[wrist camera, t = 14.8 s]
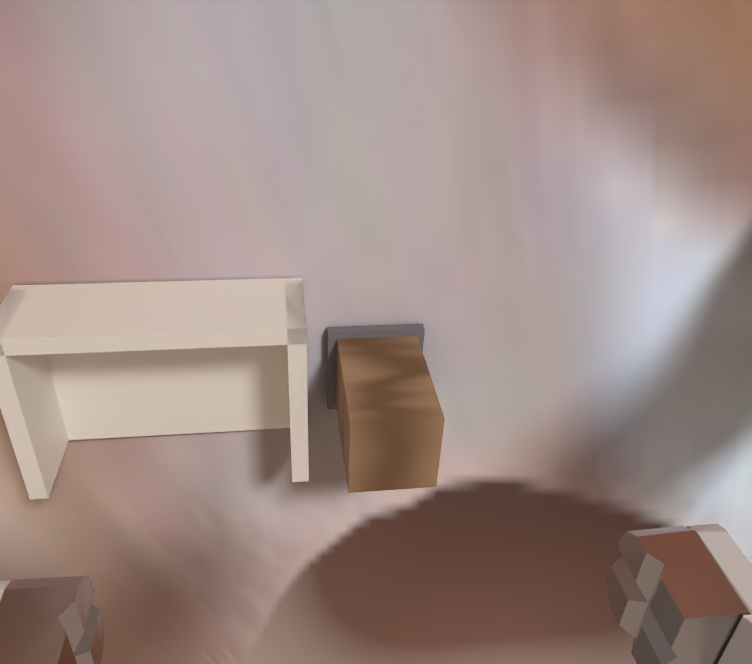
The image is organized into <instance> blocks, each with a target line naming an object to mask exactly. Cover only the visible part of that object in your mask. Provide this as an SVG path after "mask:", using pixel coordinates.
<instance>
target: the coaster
mask: <svg viewBox="0 0 752 664" xmlns="http://www.w3.org/2000/svg"><path fill="white" fill-rule="evenodd" d="M401 336H417V337H418V340H419V343H420V346H421V349H422V351H423V340H424V326H423V324H404V325H377V326H349V327H327V408H328V409H337V404H336V390H337V339H350V338H375V337H401Z"/></svg>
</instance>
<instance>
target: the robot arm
mask: <svg viewBox="0 0 752 664" xmlns="http://www.w3.org/2000/svg"><path fill="white" fill-rule="evenodd" d="M618 549H619V551H620V553H621V554H622V557H621V558H620V559H619V560H618V561H616V562H615V563H614V564H613V565H612V566H611V569H610V572H609V576H608V579H607V584H608V598H609V601H610V605H611V608H612V612H613V614H614V616H615V618H616V620H617V623H618V625H619V626H620V627H621V628H623V629H624V630H625V631H626V632H628V633H629V634H630V635H632V636H633V637H634V642H633V648H632V654H633V656H634V658H635V660H636V662H637V664H752V566H751V564H750V563H749V561H748V560H747V559H746V557H745V556H744V554H743V553H742V552H741V550H740V549H739V548H738V546H737V545H736V543H735V542H734V541H733V539H732V538H731V536H730V535H729V534H728V532H727V531H726V530H725V529H724V528H723V527H721V526H720V525H718V524H709V525H697V526H687V527H684V526H677V527H667V528H656V529H646V530H635V531H627V532H626V533H625V534H624V535H623V536H622V537H621V539H620V542H619V545H618ZM93 592H94V590H93V587H92V584H91V581H90V578H89V576H79V577H60V578H42V579H24V580H7V581H0V664H101V660H102V651H103V625H102V619H101V615H100V611H99V610H98V609H96V608H95V607H93V606H92V605H91V601H92V597H93Z"/></svg>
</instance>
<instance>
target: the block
mask: <svg viewBox="0 0 752 664" xmlns="http://www.w3.org/2000/svg"><path fill="white" fill-rule="evenodd" d="M336 404H337V412H338V419H339V426H340V434H341V441H342V449H343V456H344V464H345V471H346V479H347V486H348V493H351V492H365V491H380V490H394V489H409V488H424V487H436V484H437V476H438V468H439V459H440V451H441V443H442V435H443V426H444V416H443V413H442V410H441V407H440V404H439V400H438V397H437V394H436V391H435V388H434V385H433V382H432V379H431V376H430V373H429V370H428V367H427V364H426V361H425V358H424V355H423V352H422V349H421V346H420V343H419V340H418V337H417V336H401V337H375V338H350V339H337V390H336Z"/></svg>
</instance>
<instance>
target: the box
mask: <svg viewBox="0 0 752 664" xmlns="http://www.w3.org/2000/svg"><path fill="white" fill-rule="evenodd" d="M0 409H1V412H2V415H3V418H4V421H5V424H6V427H7V430H8V433H9V436H10V439H11V443H12V446H13V449H14V452H15V455H16V458H17V461H18V464H19V467H20V470H21V473H22V476H23V479H24V483H25V486H26V489H27V492H28V495H29V498H30V499H44V498H49V495H50V492H51V489H52V486H53V484H54V481H55V478H56V475H57V472H58V469H59V467H60V464H61V461H62V458H63V455H64V453H65V450H66V447H67V444H68V441H69V440H81V439H99V438H117V437H135V436H153V435H171V434H189V433H207V432H226V431H244V430H262V429H280V428H290V441H291V465H292V482H303V481H309V462H308V402H307V341H306V319H305V308H304V297H303V285H302V278H278V279H240V280H203V281H166V282H128V283H91V284H54V285H16V286H12V287H11V289H10V291H9V292H8V294H7V295H6V297H5V298H4V300H3V302H2V303H1V305H0Z"/></svg>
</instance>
